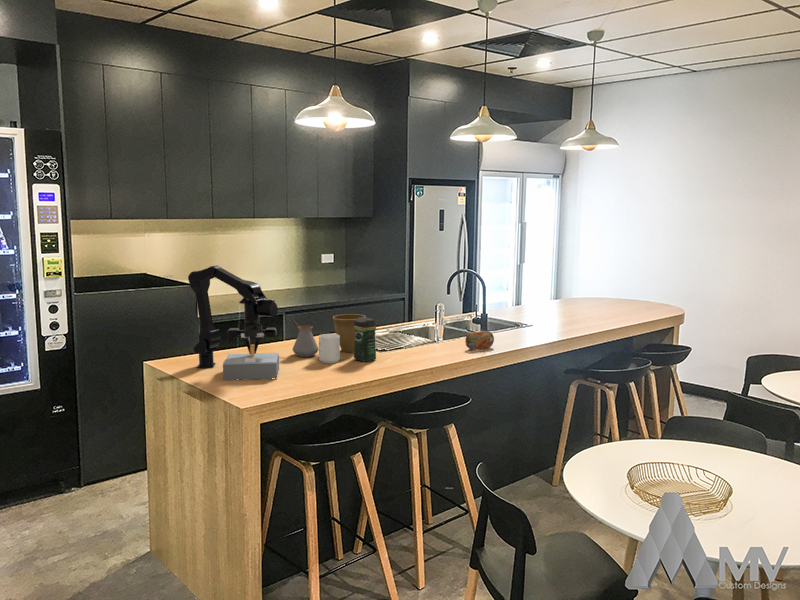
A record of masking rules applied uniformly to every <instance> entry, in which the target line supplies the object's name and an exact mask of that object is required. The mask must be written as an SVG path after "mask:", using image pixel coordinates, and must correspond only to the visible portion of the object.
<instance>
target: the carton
mask: <svg viewBox="0 0 800 600" xmlns="http://www.w3.org/2000/svg"><path fill="white" fill-rule="evenodd" d="M278 371H279V372H280V355H278V359H277V363H276V364H237V365H223V364H222V378H223V379H222V380H223V381H238V380H237V379H267V380H273V379H272V378H275V379H274V380H277V379H278V376H277V375H279V372H278ZM276 378H277V379H276Z"/></svg>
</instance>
